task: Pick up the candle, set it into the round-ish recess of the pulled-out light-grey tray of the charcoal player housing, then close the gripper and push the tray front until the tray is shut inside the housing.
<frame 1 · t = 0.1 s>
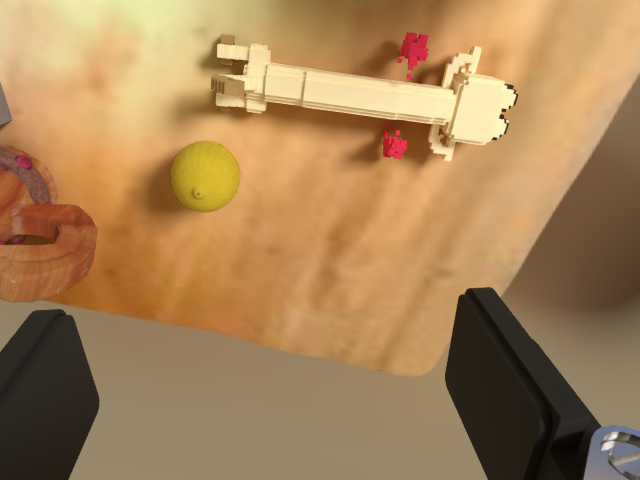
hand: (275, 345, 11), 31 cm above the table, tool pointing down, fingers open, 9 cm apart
cat figure: (366, 89, 39), on the table
mug: (46, 186, 40), on the table
lemon: (212, 160, 41), on the table
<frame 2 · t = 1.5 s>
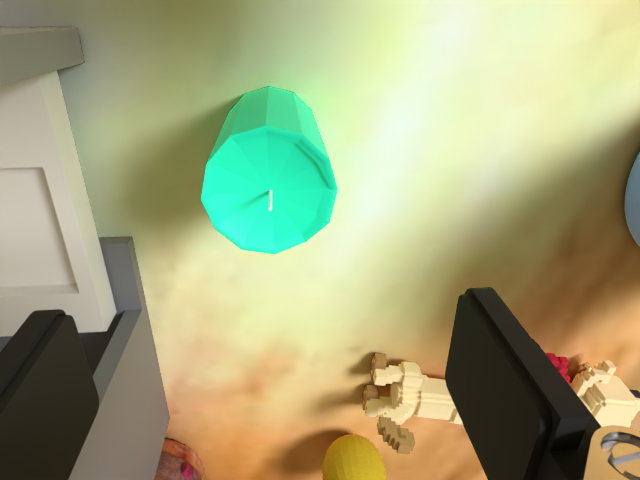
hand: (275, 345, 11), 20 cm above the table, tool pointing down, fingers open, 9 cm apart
candle: (271, 133, 29), on the table
cat figure: (496, 378, 42), on the table
mug: (190, 459, 43), on the table
housing: (60, 342, 35), on the table
lemon: (347, 434, 43), on the table
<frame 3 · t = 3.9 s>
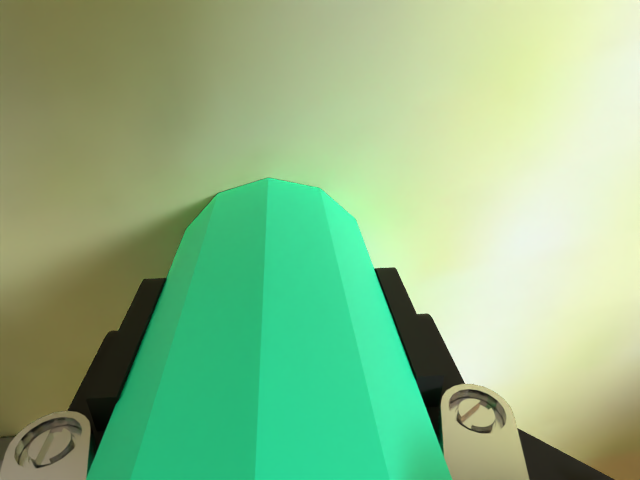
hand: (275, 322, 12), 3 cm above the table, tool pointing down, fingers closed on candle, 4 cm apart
candle: (275, 262, 15), on the table, touching gripper
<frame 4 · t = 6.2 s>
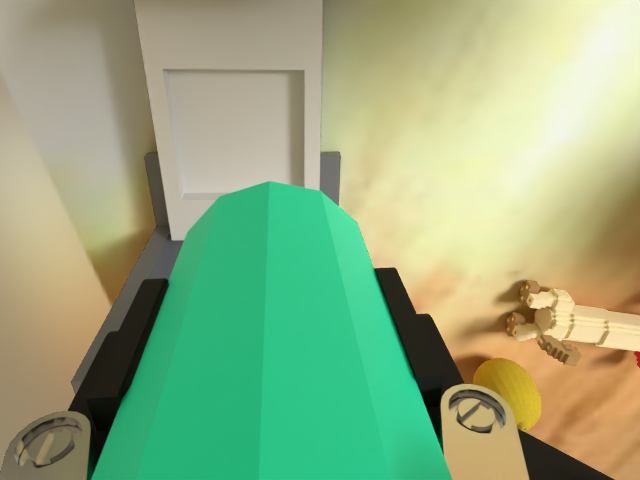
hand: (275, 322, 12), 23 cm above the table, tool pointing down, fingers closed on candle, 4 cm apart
candle: (276, 265, 15), point 20 cm above the table, touching gripper
cat figure: (628, 310, 44), on the table
housing: (251, 257, 37), on the table
lemon: (487, 361, 45), on the table
tray: (234, 112, 27), point 5 cm above the table, slide at 11.0 cm
when the fingers open (7 cm above the table, at t = 8.6 s): candle drops 1 cm, resting on tray.
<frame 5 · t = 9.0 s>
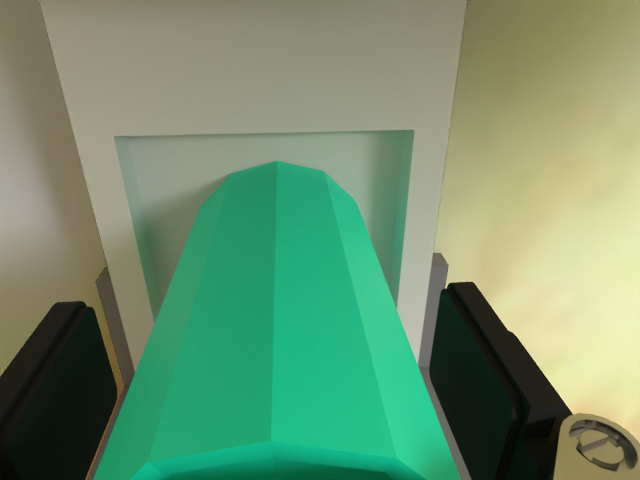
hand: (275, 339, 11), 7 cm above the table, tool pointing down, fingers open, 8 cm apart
candle: (281, 240, 16), point 2 cm above the table, touching tray
housing: (285, 412, 23), on the table
tray: (271, 228, 12), point 5 cm above the table, slide at 11.0 cm, touching candle
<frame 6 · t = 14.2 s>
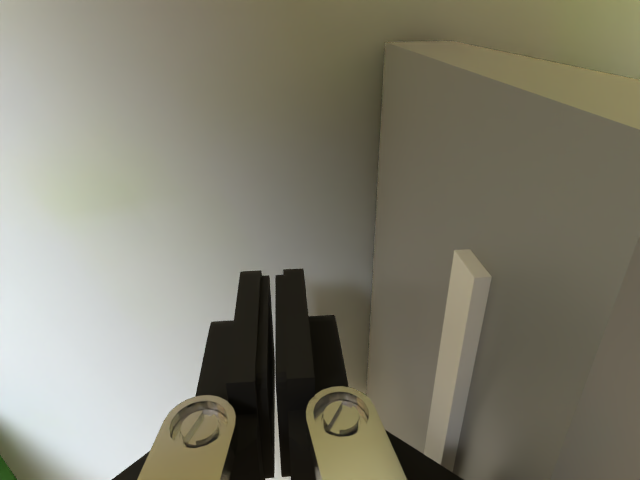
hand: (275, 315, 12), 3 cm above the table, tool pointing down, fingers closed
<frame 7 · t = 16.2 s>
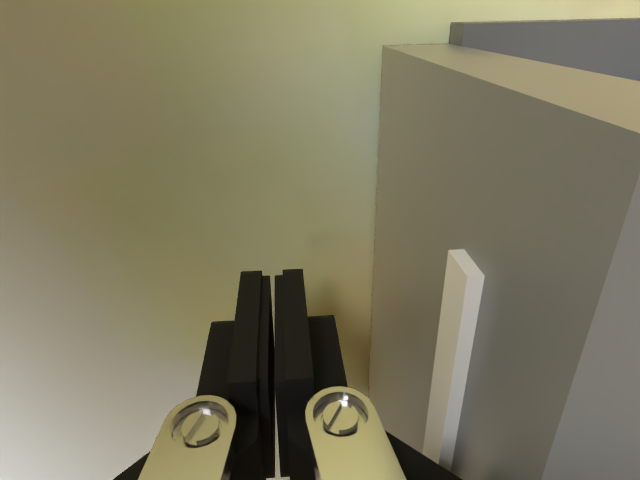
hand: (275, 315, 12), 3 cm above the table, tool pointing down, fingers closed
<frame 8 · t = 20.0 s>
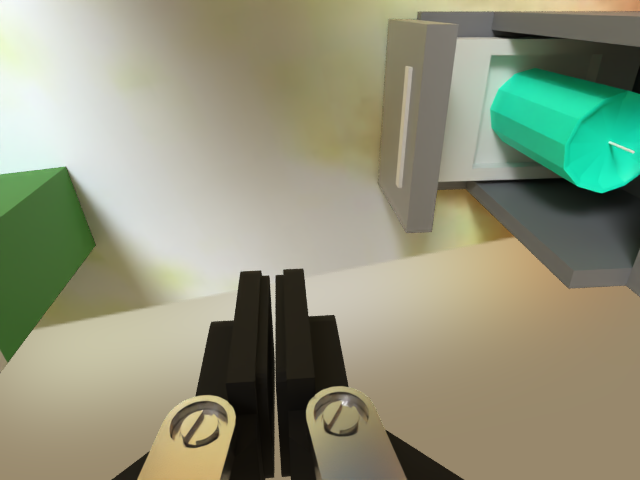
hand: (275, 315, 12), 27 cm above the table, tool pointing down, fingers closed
candle: (525, 107, 36), point 2 cm above the table, touching tray
housing: (514, 105, 38), on the table
tray: (519, 119, 33), point 5 cm above the table, slide at 0.1 cm, touching candle
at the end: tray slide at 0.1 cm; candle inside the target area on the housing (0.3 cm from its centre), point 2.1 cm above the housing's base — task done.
